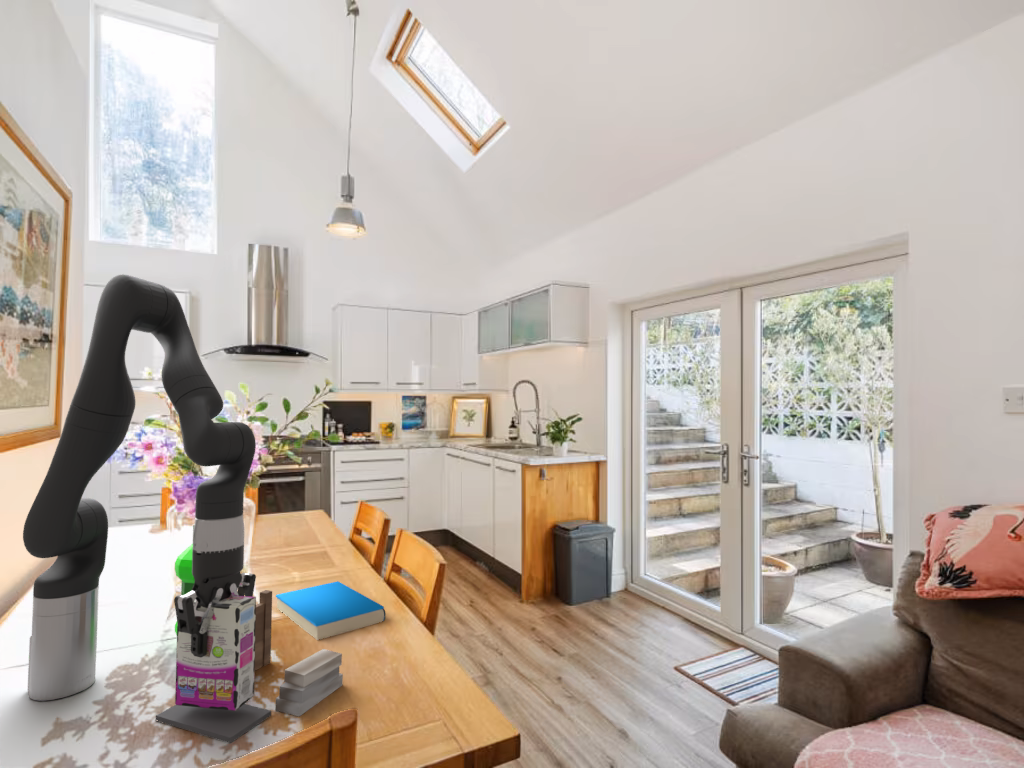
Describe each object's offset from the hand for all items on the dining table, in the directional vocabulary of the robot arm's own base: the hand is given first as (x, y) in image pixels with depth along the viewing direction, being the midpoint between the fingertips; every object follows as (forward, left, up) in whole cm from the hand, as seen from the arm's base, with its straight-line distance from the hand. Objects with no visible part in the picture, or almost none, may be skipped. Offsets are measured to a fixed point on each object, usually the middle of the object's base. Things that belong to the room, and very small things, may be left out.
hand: (216, 647), depth 90 cm
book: (-12, +43, -12) cm, 46 cm away
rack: (-7, +11, -11) cm, 17 cm away
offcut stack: (+10, +11, -11) cm, 19 cm away
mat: (0, 0, -11) cm, 11 cm away
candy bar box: (0, 0, -9) cm, 9 cm away
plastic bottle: (-27, +20, -11) cm, 35 cm away
